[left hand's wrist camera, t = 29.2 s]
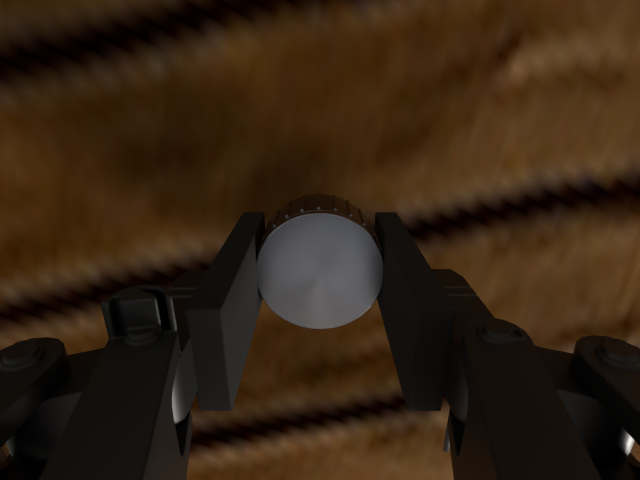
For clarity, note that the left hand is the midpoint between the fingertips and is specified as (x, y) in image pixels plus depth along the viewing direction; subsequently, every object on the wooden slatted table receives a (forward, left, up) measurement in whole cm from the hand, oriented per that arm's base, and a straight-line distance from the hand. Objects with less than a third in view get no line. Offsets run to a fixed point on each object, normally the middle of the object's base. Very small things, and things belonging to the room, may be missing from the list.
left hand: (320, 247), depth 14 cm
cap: (0, 0, +2) cm, 2 cm away
